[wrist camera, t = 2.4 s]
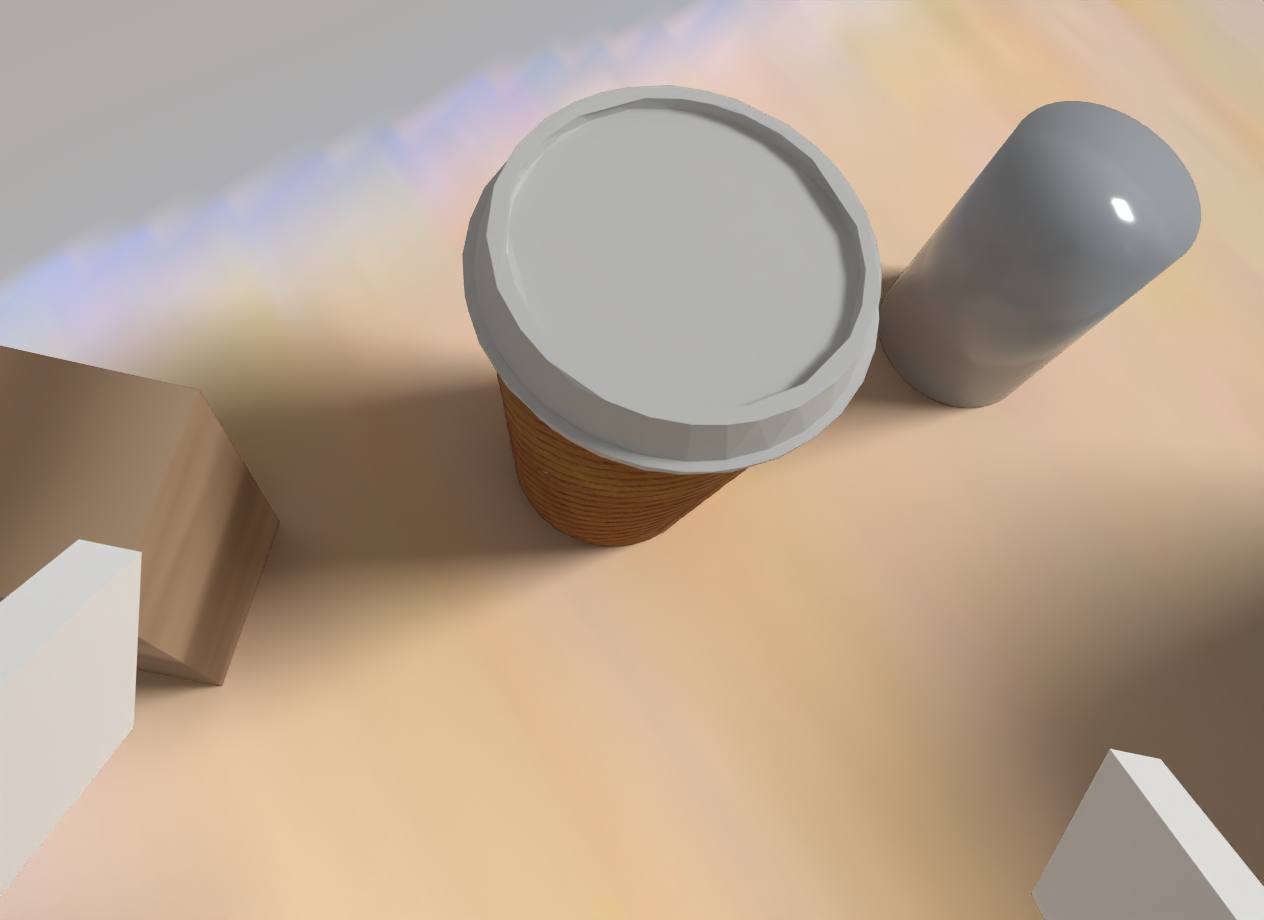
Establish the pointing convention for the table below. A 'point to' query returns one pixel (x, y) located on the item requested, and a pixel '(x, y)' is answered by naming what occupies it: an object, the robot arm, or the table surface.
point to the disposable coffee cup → (666, 302)
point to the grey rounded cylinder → (1038, 252)
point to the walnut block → (133, 501)
